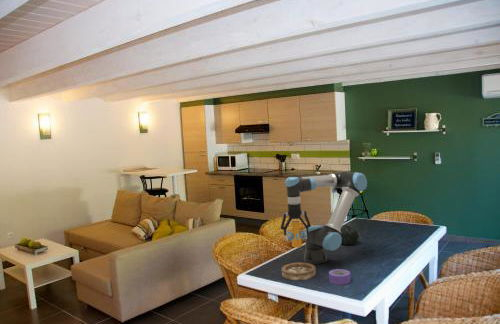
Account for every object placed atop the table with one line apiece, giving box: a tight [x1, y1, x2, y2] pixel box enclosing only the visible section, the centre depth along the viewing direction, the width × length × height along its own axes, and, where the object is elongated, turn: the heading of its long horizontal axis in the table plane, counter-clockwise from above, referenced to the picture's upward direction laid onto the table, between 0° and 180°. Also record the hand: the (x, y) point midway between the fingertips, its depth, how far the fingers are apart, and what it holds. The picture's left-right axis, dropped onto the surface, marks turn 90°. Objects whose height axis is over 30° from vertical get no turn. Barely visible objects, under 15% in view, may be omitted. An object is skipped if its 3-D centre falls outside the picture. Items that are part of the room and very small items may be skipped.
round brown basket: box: [281, 262, 317, 281], centre depth 251 cm, size 20×20×4 cm
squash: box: [340, 224, 360, 246], centre depth 307 cm, size 14×15×15 cm
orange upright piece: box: [288, 220, 306, 248], centre depth 250 cm, size 12×10×15 cm
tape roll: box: [328, 268, 351, 286], centre depth 236 cm, size 12×12×5 cm
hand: (296, 239), depth 250 cm, fingers closed on orange upright piece, 11 cm apart
